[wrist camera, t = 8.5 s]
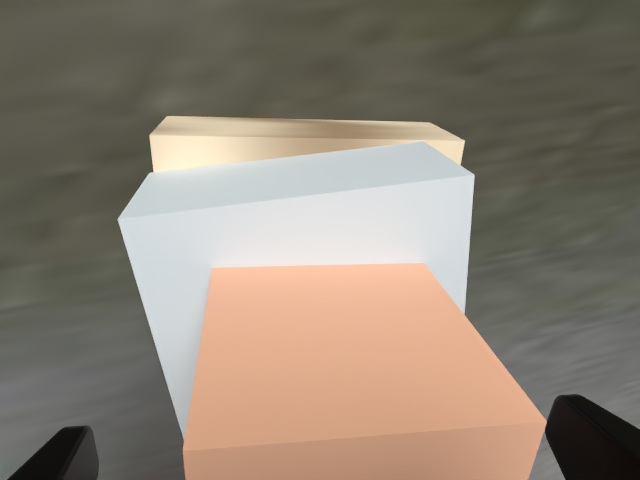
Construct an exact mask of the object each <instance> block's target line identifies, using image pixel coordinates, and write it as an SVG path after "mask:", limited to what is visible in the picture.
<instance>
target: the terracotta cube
mask: <svg viewBox="0 0 640 480" xmlns="http://www.w3.org/2000/svg"><path fill="white" fill-rule="evenodd" d="M546 424H547V421H546V420H545V419H544V417H543V416H542V415H541V413H540V412H539V411H538V409H537V408H536V407H535V406H534V404H533V403H532V402H531V400H530V399H529V398H528V397H527V395H526V394H525V393H524V391H523V390H522V389H521V388H520V386H519V385H518V384H517V382H516V381H515V380H514V378H513V377H512V376H511V375H510V373H509V372H508V371H507V369H506V368H505V367H504V366H503V364H502V363H501V362H500V360H499V359H498V358H497V356H496V355H495V354H494V353H493V351H492V350H491V349H490V347H489V346H488V345H487V344H486V342H485V341H484V340H483V338H482V337H481V336H480V335H479V333H478V332H477V331H476V329H475V328H474V327H473V325H472V324H471V323H470V322H469V320H468V319H467V318H466V316H465V315H464V314H463V313H462V311H461V310H460V309H459V307H458V306H457V305H456V303H455V302H454V301H453V300H452V298H451V297H450V296H449V294H448V293H447V292H446V291H445V289H444V288H443V287H442V285H441V284H440V283H439V282H438V280H437V279H436V278H435V276H434V275H433V274H432V272H431V271H430V270H429V269H428V267H427V266H426V265H425V263H395V264H351V265H306V266H261V267H216V268H212V273H211V279H210V285H209V291H208V297H207V303H206V310H205V316H204V322H203V328H202V334H201V341H200V347H199V353H198V359H197V365H196V372H195V378H194V384H193V390H192V396H191V402H190V409H189V415H188V421H187V427H186V433H185V440H184V446H183V460H184V469H185V479H186V480H528V478H529V475H530V472H531V469H532V466H533V463H534V460H535V457H536V454H537V451H538V448H539V445H540V442H541V439H542V436H543V433H544V430H545V427H546Z"/></svg>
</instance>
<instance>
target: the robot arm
mask: <svg viewBox="0 0 640 480" xmlns="http://www.w3.org/2000/svg"><path fill="white" fill-rule="evenodd" d="M545 434H546V438H547V440H548V443H549V445H550V447H551V449H552V451H553V454H554V456H555V458H556V460H557V462H558V464H559V467H560V469H561V471H562V473H563V475H564V478H565V480H640V429H638V428H636V427H635V426H633V425H631V424H629V423H628V422H626V421H624V420H623V419H621V418H619V417H617V416H616V415H614V414H612V413H611V412H609V411H607V410H605V409H604V408H602V407H600V406H598V405H597V404H595V403H593V402H592V401H590V400H588V399H586V398H585V397H583V396H581V395H577V394H572V395H560V396H558V397H557V398H556V399H555V400H554V403H553V405H552V408H551V411H550V414H549V416H548V419H547V424H546V427H545ZM98 469H99V460H98V455H97V450H96V445H95V440H94V436H93V431H92V429H91V428H90V427H89V426H72V427H65V428H63V429H61V430H60V431H58V432H57V433H56V434H55V435H54V436H53V437H52V438H51V439H50V440H49V441H48V442H47V443H46V444H45V445H44V446H42V447H41V448H40V449H39V450H38V451H37V452H36V453H35V454H34V455H33V456H32V457H31V458H30V459H29V460H28V461H26V462H25V463H24V464H23V465H22V466H21V467H20V468H19V469H18V470H17V471H16V472H15V473H14V474H13V475H12V476H11V477H9V478H8V479H7V480H97V476H98Z"/></svg>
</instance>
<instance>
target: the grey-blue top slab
mask: <svg viewBox="0 0 640 480" xmlns="http://www.w3.org/2000/svg"><path fill="white" fill-rule="evenodd" d="M473 189H474V174H472V173H471V172H469V171H468V170H466V169H465V168H463V167H462V166H460V165H459V164H457V163H456V162H454V161H453V160H451V159H450V158H448V157H447V156H445V155H444V154H442V153H441V152H439V151H438V150H436V149H435V148H433V147H431V146H430V145H428V144H427V143H425V142H424V141H420V142H411V143H403V144H394V145H385V146H377V147H368V148H360V149H351V150H342V151H334V152H325V153H316V154H308V155H299V156H291V157H282V158H273V159H265V160H256V161H248V162H239V163H230V164H222V165H213V166H205V167H196V168H187V169H179V170H170V171H161V172H153V173H149V174H148V176H147V177H146V179H145V180H144V182H143V183H142V185H141V186H140V187H139V189H138V190H137V192H136V193H135V195H134V196H133V198H132V199H131V201H130V202H129V204H128V205H127V206H126V208H125V209H124V211H123V212H122V214H121V215H120V217H119V218H118V222H119V225H120V229H121V232H122V235H123V239H124V242H125V245H126V249H127V252H128V255H129V259H130V262H131V265H132V269H133V272H134V275H135V279H136V282H137V285H138V289H139V292H140V295H141V299H142V302H143V305H144V309H145V312H146V315H147V319H148V322H149V325H150V329H151V332H152V335H153V339H154V342H155V345H156V349H157V352H158V355H159V359H160V362H161V365H162V369H163V372H164V375H165V379H166V382H167V385H168V389H169V392H170V395H171V399H172V402H173V405H174V409H175V412H176V415H177V419H178V422H179V425H180V429H181V432H182V435H183V439H184V440H185V433H186V427H187V421H188V415H189V409H190V402H191V396H192V390H193V384H194V378H195V372H196V365H197V359H198V353H199V347H200V341H201V334H202V328H203V322H204V316H205V310H206V303H207V297H208V291H209V285H210V279H211V273H212V268H216V267H261V266H306V265H351V264H395V263H425V265H426V266H427V267H428V269H429V270H430V271H431V272H432V274H433V275H434V276H435V278H436V279H437V280H438V282H439V283H440V284H441V285H442V287H443V288H444V289H445V291H446V292H447V293H448V294H449V296H450V297H451V298H452V300H453V301H454V302H455V303H456V305H457V306H458V307H459V309H460V310H461V311H462V313H463V314H464V313H465V299H466V285H467V271H468V258H469V244H470V230H471V216H472V202H473Z"/></svg>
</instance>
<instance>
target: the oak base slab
mask: <svg viewBox="0 0 640 480" xmlns="http://www.w3.org/2000/svg"><path fill="white" fill-rule="evenodd" d="M420 141H424V142H425V143H427V144H428V145H430V146H431V147H433V148H435V149H436V150H438V151H439V152H441V153H442V154H444V155H445V156H447V157H448V158H450V159H451V160H453V161H454V162H456V163H457V164H459V165H460V164H461V159H462V153H463V148H464V143H465V141H464V140H462V139H460V138H458V137H457V136H455V135H453V134H451V133H449V132H447V131H445V130H443V129H441V128H439V127H437V126H436V125H434V124H432V123H430V122H393V121H352V120H310V119H269V118H228V117H187V116H167V117H166V118H165V119H164V120H163V121H162V122H161V123H160V124H159V126H158V127H157V128H156V129H155V130H154V131H153V132H152V133H151V134H150V144H151V153H152V162H153V171H154V172H161V171H170V170H179V169H187V168H196V167H205V166H213V165H222V164H230V163H239V162H248V161H256V160H265V159H273V158H282V157H291V156H299V155H308V154H316V153H325V152H334V151H342V150H351V149H360V148H368V147H377V146H385V145H394V144H403V143H411V142H420Z"/></svg>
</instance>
